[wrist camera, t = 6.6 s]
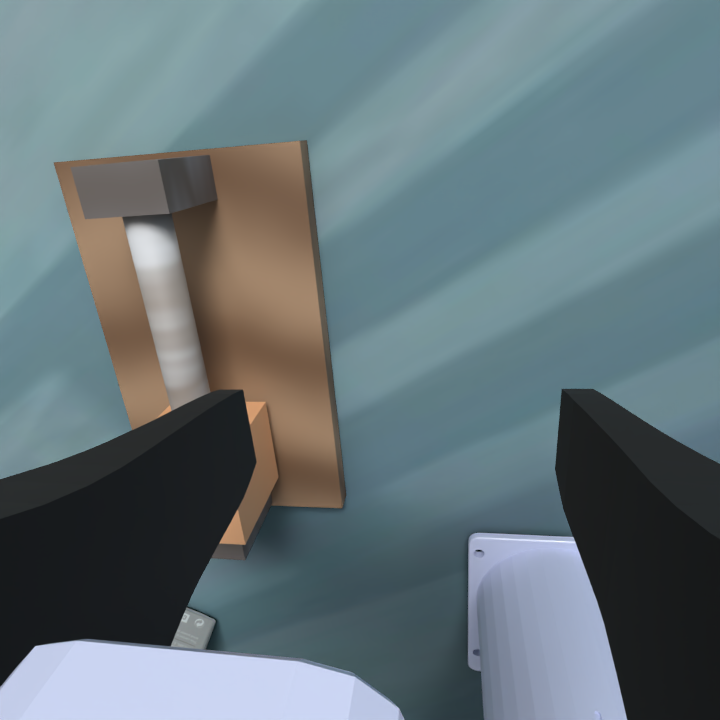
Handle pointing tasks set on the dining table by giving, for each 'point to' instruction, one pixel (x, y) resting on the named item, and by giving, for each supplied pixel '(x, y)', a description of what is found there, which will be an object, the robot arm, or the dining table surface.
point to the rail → (216, 296)
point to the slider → (253, 476)
